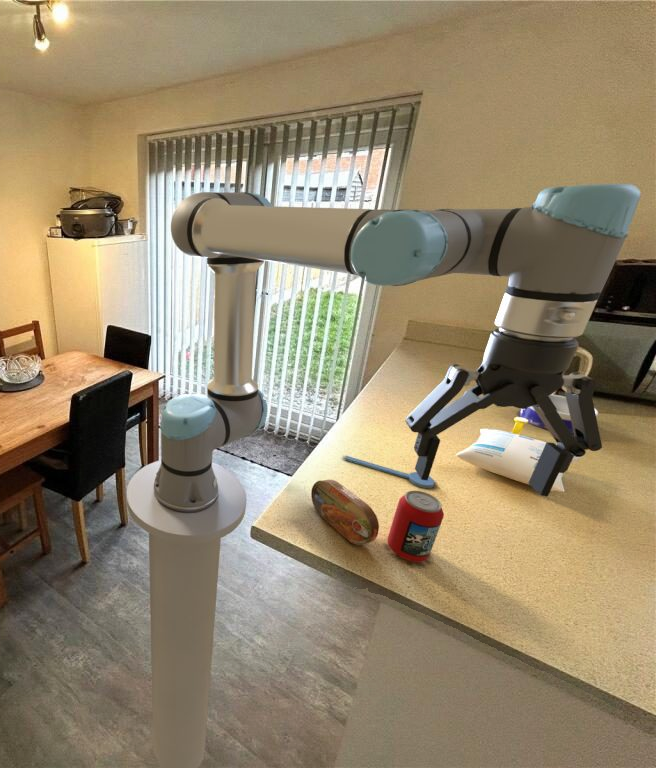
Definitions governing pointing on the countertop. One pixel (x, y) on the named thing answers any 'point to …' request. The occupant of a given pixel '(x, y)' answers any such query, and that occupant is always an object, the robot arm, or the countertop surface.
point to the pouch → (508, 455)
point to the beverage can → (415, 525)
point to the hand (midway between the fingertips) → (477, 482)
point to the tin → (345, 512)
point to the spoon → (396, 473)
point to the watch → (519, 425)
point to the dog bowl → (561, 408)
